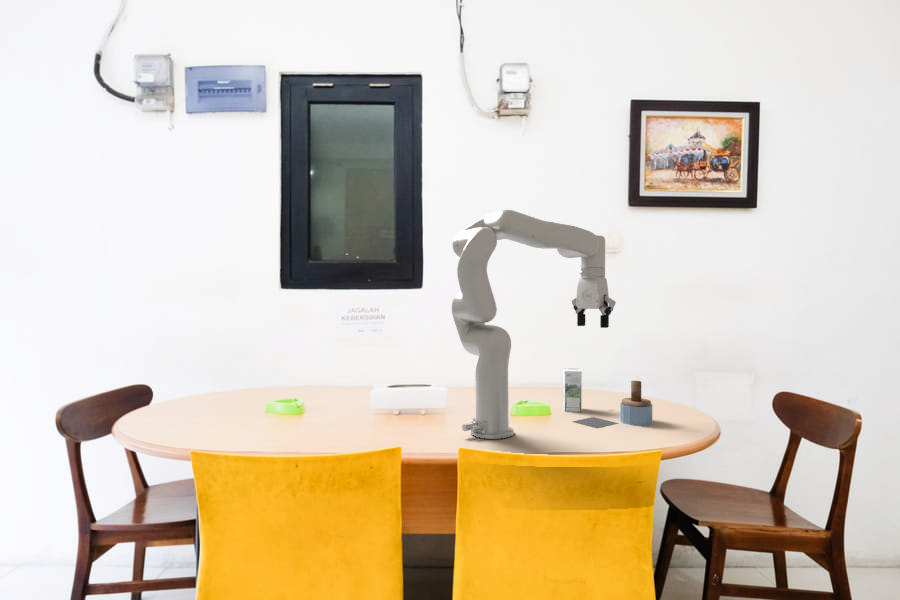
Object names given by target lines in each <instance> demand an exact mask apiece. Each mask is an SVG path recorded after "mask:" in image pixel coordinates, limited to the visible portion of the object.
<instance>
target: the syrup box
mask: <svg viewBox="0 0 900 600" xmlns="http://www.w3.org/2000/svg"><path fill="white" fill-rule="evenodd" d="M582 374H583V373H582V370H581V369H580V368H572V367H571V368H567V367H566V368H565V367H564V368H562V409H563V411H564V412H565V413H569V412H571V413H581V412H582V386H583V385H582V384H583V383H582V382H583V381H582V377H583V376H582Z"/></svg>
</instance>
